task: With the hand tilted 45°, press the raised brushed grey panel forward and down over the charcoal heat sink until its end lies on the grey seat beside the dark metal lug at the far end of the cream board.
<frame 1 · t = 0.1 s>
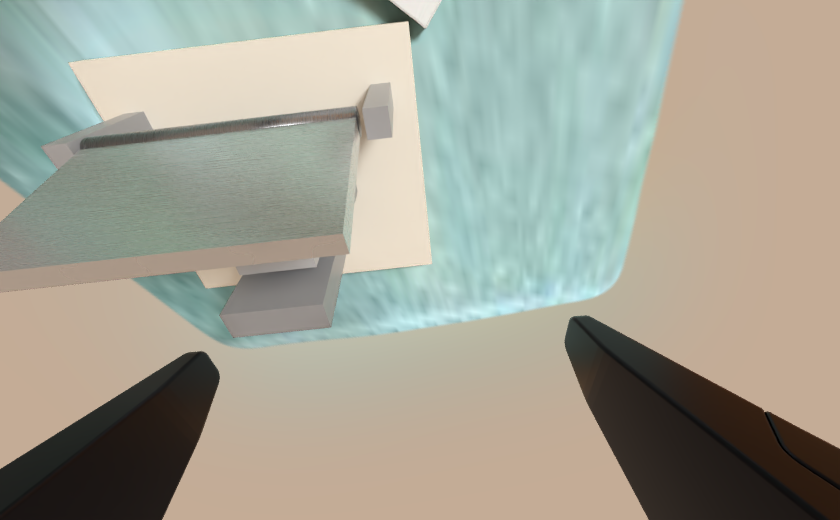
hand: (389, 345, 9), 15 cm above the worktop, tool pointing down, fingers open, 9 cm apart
brushed grey panel: (197, 183, 12), point 9 cm above the worktop, hinge at 12.0°
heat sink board: (290, 176, 21), on the worktop
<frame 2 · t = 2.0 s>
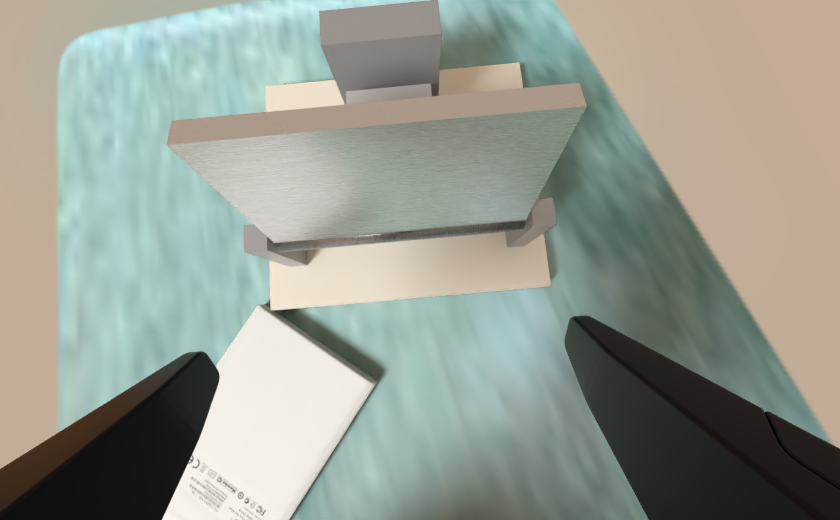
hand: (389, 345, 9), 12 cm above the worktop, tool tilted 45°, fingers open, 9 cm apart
external hard drive: (263, 430, 21), on the worktop
brushed grey panel: (391, 190, 13), point 9 cm above the worktop, hinge at 12.0°
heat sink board: (401, 186, 22), on the worktop
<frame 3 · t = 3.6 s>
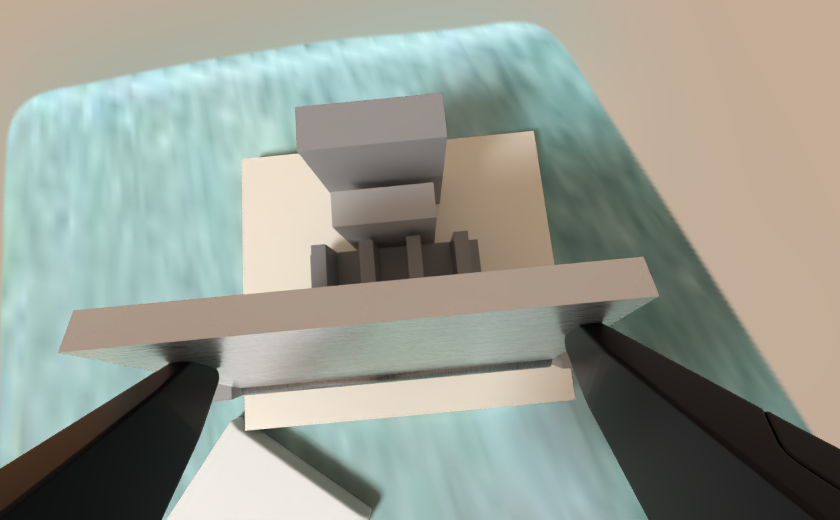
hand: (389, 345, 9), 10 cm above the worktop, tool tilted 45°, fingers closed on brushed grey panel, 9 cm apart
brushed grey panel: (385, 346, 10), point 9 cm above the worktop, hinge at 16.7°, touching gripper
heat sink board: (399, 274, 19), on the worktop
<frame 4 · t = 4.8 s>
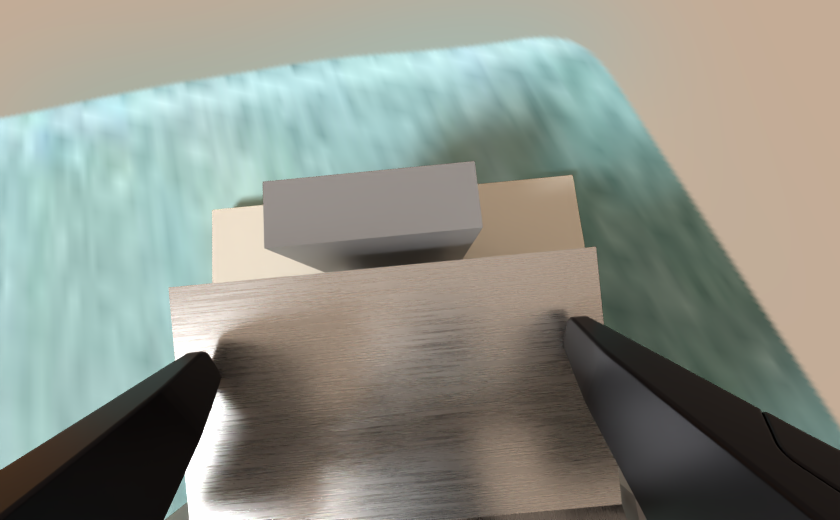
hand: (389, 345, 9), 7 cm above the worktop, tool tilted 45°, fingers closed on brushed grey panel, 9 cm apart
brushed grey panel: (396, 408, 9), point 6 cm above the worktop, hinge at 81.7°, touching gripper, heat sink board
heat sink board: (406, 352, 15), on the worktop
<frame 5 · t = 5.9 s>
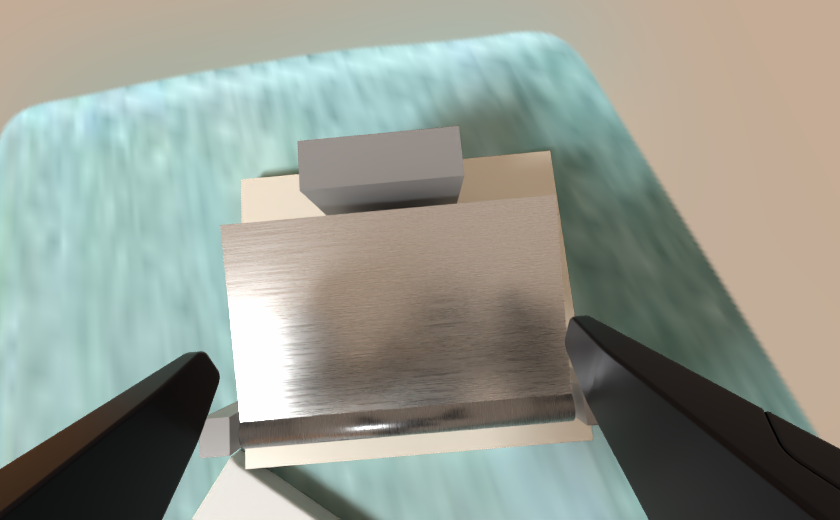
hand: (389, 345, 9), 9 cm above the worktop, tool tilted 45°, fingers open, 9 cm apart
brushed grey panel: (398, 322, 12), point 6 cm above the worktop, hinge at 80.6°
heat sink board: (407, 301, 18), on the worktop
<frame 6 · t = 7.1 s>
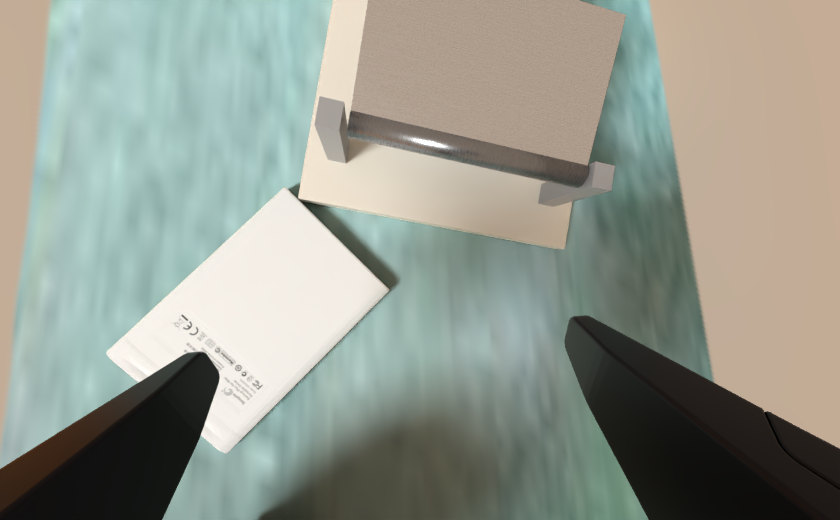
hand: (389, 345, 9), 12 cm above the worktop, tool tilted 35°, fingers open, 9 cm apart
external hard drive: (263, 314, 20), on the worktop
brushed grey panel: (486, 77, 15), point 6 cm above the worktop, hinge at 80.6°
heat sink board: (454, 114, 21), on the worktop
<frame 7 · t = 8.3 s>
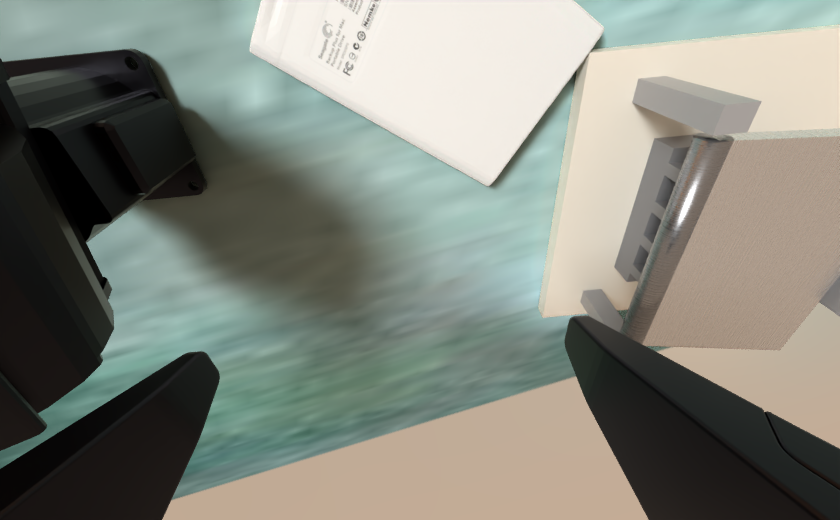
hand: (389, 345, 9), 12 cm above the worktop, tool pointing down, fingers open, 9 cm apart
external hard drive: (425, 36, 16), on the worktop
brushed grey panel: (741, 259, 15), point 6 cm above the worktop, hinge at 80.6°
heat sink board: (673, 197, 20), on the worktop
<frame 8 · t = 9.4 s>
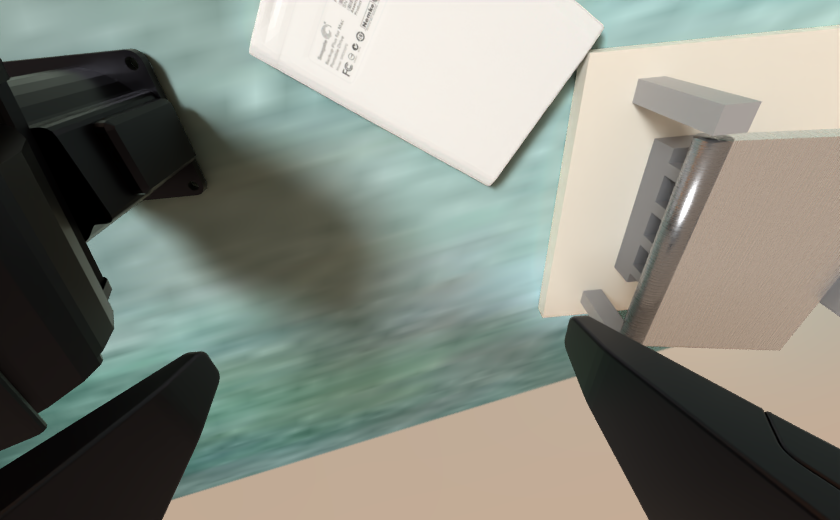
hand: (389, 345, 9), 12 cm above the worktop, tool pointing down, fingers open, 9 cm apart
external hard drive: (424, 37, 16), on the worktop
brushed grey panel: (741, 259, 15), point 6 cm above the worktop, hinge at 80.6°
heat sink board: (673, 197, 20), on the worktop
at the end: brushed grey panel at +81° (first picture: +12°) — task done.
